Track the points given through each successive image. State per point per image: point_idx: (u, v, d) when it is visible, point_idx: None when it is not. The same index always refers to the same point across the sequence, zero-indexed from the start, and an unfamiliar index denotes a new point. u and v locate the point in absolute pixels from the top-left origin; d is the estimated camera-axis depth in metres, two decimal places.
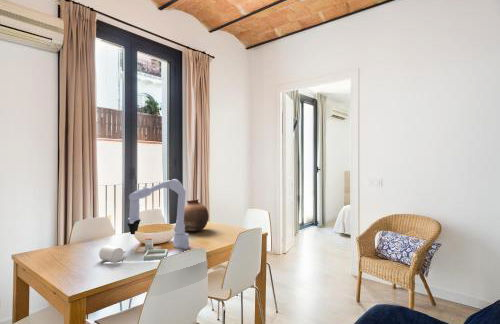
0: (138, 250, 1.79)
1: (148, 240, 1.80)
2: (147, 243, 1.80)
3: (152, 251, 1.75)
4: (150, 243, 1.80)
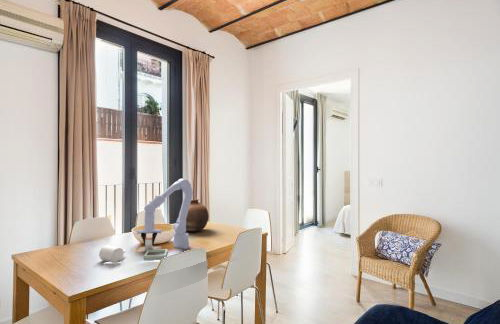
0: (138, 250, 1.79)
1: (148, 240, 1.80)
2: (147, 243, 1.80)
3: (152, 251, 1.75)
4: (150, 243, 1.80)
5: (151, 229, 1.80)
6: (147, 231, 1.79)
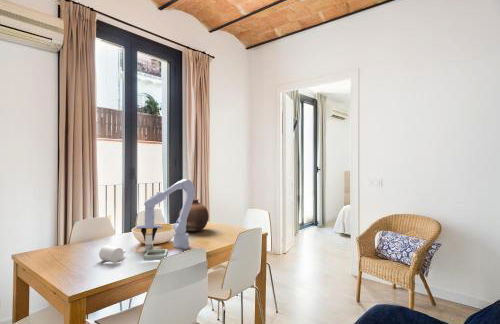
0: (138, 250, 1.79)
1: (148, 235, 1.80)
2: (147, 238, 1.80)
3: (152, 251, 1.75)
4: (150, 238, 1.80)
5: (151, 224, 1.80)
6: (147, 226, 1.79)
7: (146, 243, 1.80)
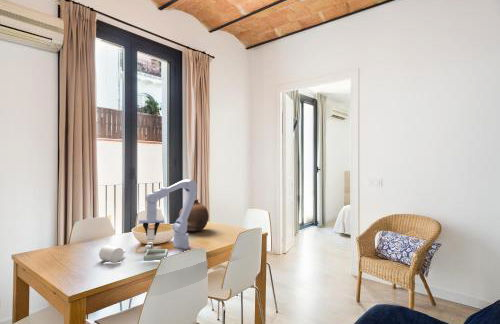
0: (138, 250, 1.79)
1: (150, 230, 1.77)
2: (149, 233, 1.76)
3: (152, 251, 1.75)
4: (152, 233, 1.77)
5: (153, 219, 1.76)
6: (149, 221, 1.76)
7: (148, 238, 1.76)
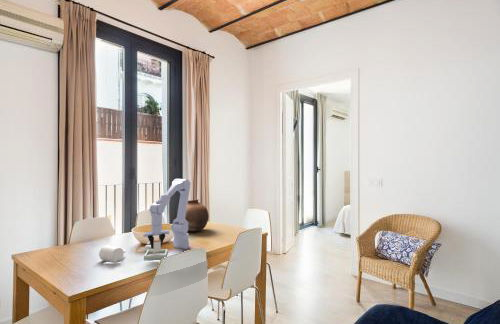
0: (138, 250, 1.79)
1: (157, 242, 1.69)
2: (156, 245, 1.69)
3: None
4: (159, 245, 1.70)
5: (160, 230, 1.70)
6: (157, 233, 1.68)
7: (154, 251, 1.69)
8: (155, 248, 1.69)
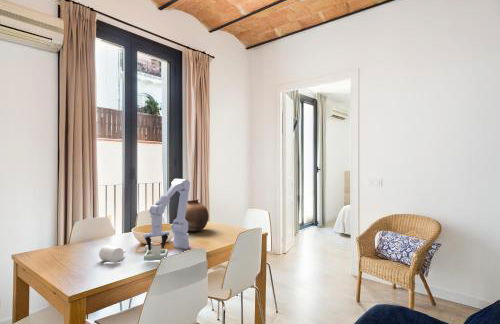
0: (138, 250, 1.79)
1: (157, 246, 1.69)
2: (156, 249, 1.69)
3: None
4: (159, 249, 1.70)
5: (160, 231, 1.70)
6: (157, 234, 1.68)
7: (154, 254, 1.69)
8: (155, 252, 1.69)
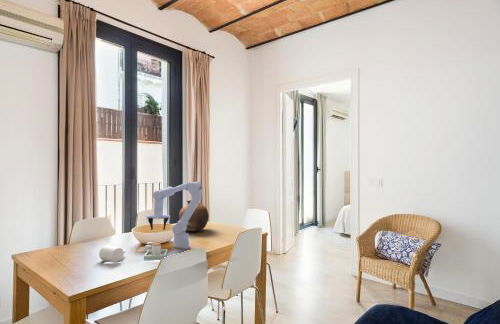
0: (138, 250, 1.79)
1: (157, 246, 1.69)
2: (156, 249, 1.69)
3: None
4: (159, 249, 1.70)
5: (160, 214, 1.90)
6: (156, 216, 1.90)
7: (154, 254, 1.69)
8: (155, 252, 1.69)
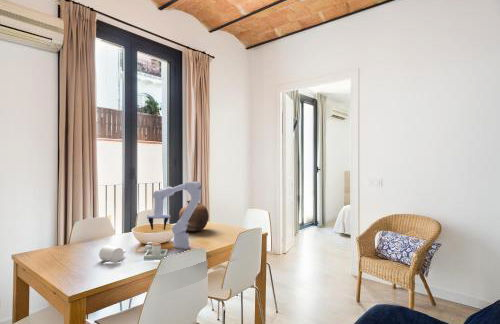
0: (138, 250, 1.79)
1: (157, 246, 1.69)
2: (156, 249, 1.69)
3: None
4: (159, 249, 1.70)
5: (160, 214, 1.91)
6: (157, 216, 1.90)
7: (154, 254, 1.69)
8: (155, 252, 1.69)
